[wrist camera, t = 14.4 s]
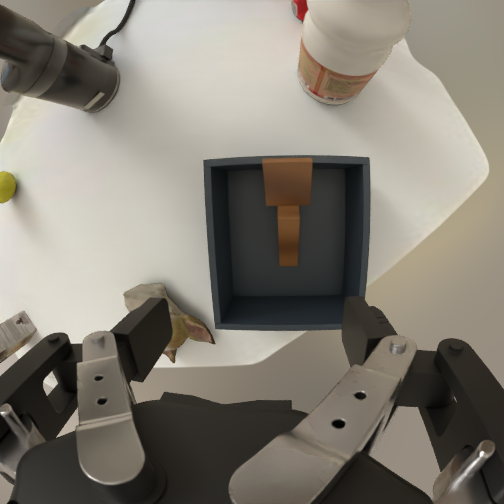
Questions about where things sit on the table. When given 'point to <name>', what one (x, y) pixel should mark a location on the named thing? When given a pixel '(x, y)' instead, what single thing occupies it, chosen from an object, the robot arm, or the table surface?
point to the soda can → (300, 8)
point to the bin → (267, 245)
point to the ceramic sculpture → (180, 321)
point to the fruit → (6, 186)
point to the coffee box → (15, 334)
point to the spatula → (288, 200)
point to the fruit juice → (347, 44)
